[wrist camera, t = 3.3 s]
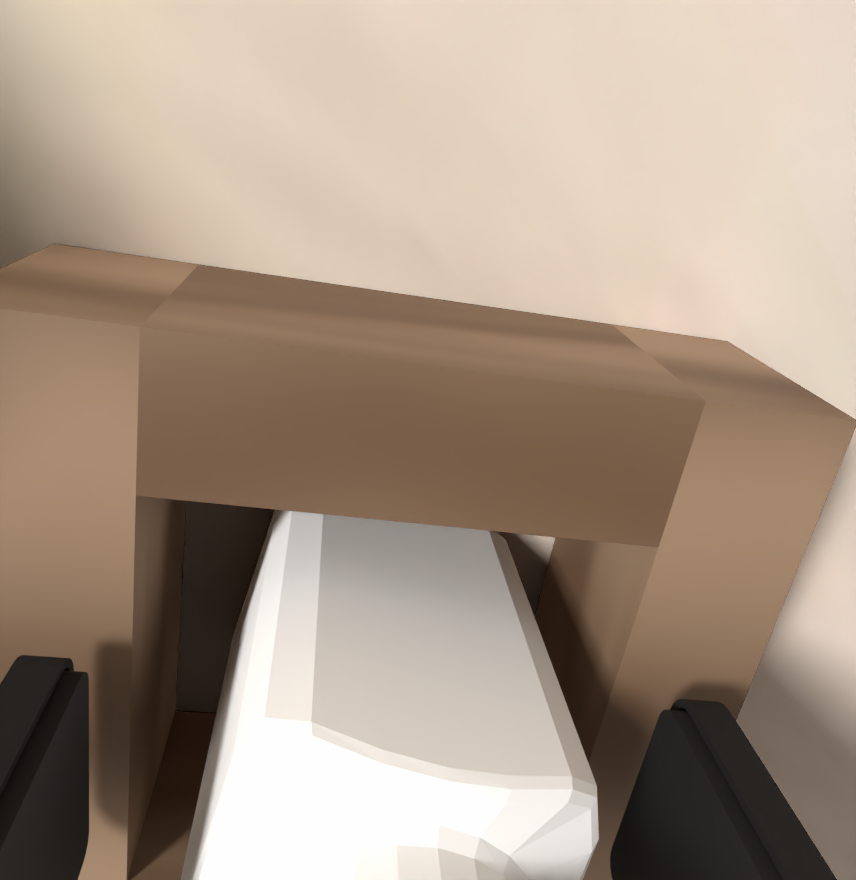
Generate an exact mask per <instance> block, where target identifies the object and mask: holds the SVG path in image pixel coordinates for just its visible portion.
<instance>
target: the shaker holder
mask: <svg viewBox="0 0 856 880" xmlns="http://www.w3.org/2000/svg"><path fill="white" fill-rule="evenodd" d="M855 428H856V420H855V419H854V418H852V417H850V416H849V415H847V414H846V413H844V412H842V411H841V410H839V409H837V408H836V407H834V406H832V405H831V404H829V403H827V402H826V401H824V400H823V399H821V398H819V397H818V396H816V395H814V394H813V393H811V392H809V391H808V390H806V389H805V388H803V387H801V386H800V385H798V384H796V383H795V382H793V381H791V380H790V379H788V378H787V377H785V376H783V375H782V374H780V373H778V372H777V371H775V370H773V369H772V368H770V367H769V366H767V365H765V364H764V363H762V362H760V361H759V360H757V359H755V358H754V357H752V356H751V355H749V354H747V353H746V352H744V351H742V350H741V349H739V348H737V347H736V346H734V345H733V344H731V343H729V342H728V341H721V340H715V339H708V338H701V337H694V336H687V335H680V334H673V333H666V332H659V331H653V330H646V329H639V328H632V327H625V326H618V325H611V324H604V323H597V322H591V321H584V320H577V319H570V318H563V317H556V316H549V315H542V314H536V313H529V312H522V311H515V310H508V309H501V308H494V307H487V306H480V305H474V304H467V303H460V302H453V301H446V300H439V299H432V298H425V297H418V296H412V295H405V294H398V293H391V292H384V291H377V290H370V289H363V288H356V287H350V286H343V285H336V284H329V283H322V282H315V281H308V280H301V279H295V278H288V277H281V276H274V275H267V274H260V273H253V272H246V271H239V270H233V269H226V268H219V267H212V266H205V265H198V264H191V263H184V262H177V261H171V260H164V259H157V258H150V257H143V256H136V255H129V254H122V253H115V252H109V251H102V250H95V249H88V248H81V247H74V246H67V245H60V244H52V245H50V246H48V247H46V248H44V249H42V250H39V251H37V252H35V253H33V254H31V255H29V256H27V257H24V258H22V259H20V260H18V261H16V262H14V263H11V264H9V265H7V266H5V267H3V268H1V269H0V684H1V682H2V681H3V679H4V677H5V676H6V674H7V672H8V671H9V669H10V667H11V666H12V664H13V663H14V661H15V660H16V659H17V657H19V656H21V655H30V656H45V657H60V658H70V659H72V662H73V665H74V671H79V672H87V673H88V676H89V838H88V845H87V850H86V854H85V859H84V862H83V865H82V868H81V871H80V874H79V877H78V880H181V875H182V870H183V866H184V861H185V857H186V852H187V847H188V843H189V838H190V833H191V829H192V824H193V819H194V815H195V810H196V805H197V801H198V796H199V791H200V787H201V782H202V777H203V773H204V768H205V763H206V759H207V754H208V749H209V745H210V740H211V735H212V731H213V726H214V721H215V717H216V714H214V713H197V712H180V711H175V707H176V688H177V669H178V650H179V631H180V612H181V593H182V573H183V554H184V535H185V516H186V501H195V502H205V503H215V504H225V505H235V506H245V507H255V508H265V509H275V510H286V511H296V512H306V513H316V514H326V515H336V516H346V517H356V518H367V519H377V520H387V521H397V522H407V523H417V524H427V525H437V526H447V527H458V528H468V529H478V530H488V531H498V532H508V533H518V534H528V535H538V536H549V537H556V538H555V542H554V545H553V549H552V553H551V557H550V561H549V564H548V568H547V572H546V576H545V580H544V583H543V587H542V591H541V595H540V598H539V602H538V606H537V610H536V614H535V620H536V623H537V625H538V628H539V631H540V633H541V636H542V639H543V642H544V644H545V647H546V650H547V652H548V655H549V658H550V661H551V663H552V666H553V669H554V671H555V674H556V677H557V679H558V682H559V685H560V688H561V690H562V693H563V696H564V698H565V701H566V704H567V706H568V709H569V712H570V715H571V717H572V720H573V723H574V725H575V728H576V731H577V734H578V736H579V739H580V742H581V744H582V747H583V750H584V752H585V755H586V758H587V761H588V763H589V766H590V769H591V771H592V774H593V777H594V780H595V782H596V785H597V801H598V829H599V840H598V843H597V845H596V847H595V850H594V852H593V855H592V857H591V860H590V862H589V865H588V867H587V870H586V872H585V875H584V877H583V880H613V879H612V876H611V869H610V854H611V849H612V846H613V843H614V840H615V837H616V835H617V832H618V829H619V826H620V823H621V821H622V818H623V815H624V812H625V810H626V807H627V804H628V801H629V798H630V796H631V793H632V790H633V787H634V784H635V782H636V779H637V776H638V773H639V770H640V768H641V765H642V762H643V759H644V757H645V754H646V751H647V748H648V745H649V743H650V740H651V737H652V734H653V731H654V729H655V726H656V723H657V720H658V717H659V715H660V713H661V712H662V711H663V710H667V709H669V710H670V709H671V707H672V705H673V703H674V702H675V701H676V700H679V699H688V700H703V701H718V702H720V703H722V704H724V705H725V706H726V707H727V708H728V710H729V711H730V713H731V714H732V716H733V717H734V719H735V721H736V719H737V717H738V714H739V712H740V709H741V707H742V704H743V702H744V700H745V697H746V695H747V692H748V690H749V687H750V685H751V682H752V680H753V677H754V675H755V673H756V670H757V668H758V665H759V663H760V660H761V658H762V655H763V653H764V651H765V648H766V646H767V643H768V641H769V638H770V636H771V633H772V631H773V629H774V626H775V624H776V621H777V619H778V616H779V614H780V611H781V609H782V607H783V604H784V602H785V599H786V597H787V594H788V592H789V589H790V587H791V584H792V582H793V580H794V577H795V575H796V572H797V570H798V567H799V565H800V562H801V560H802V558H803V555H804V553H805V550H806V548H807V545H808V543H809V540H810V538H811V536H812V533H813V531H814V528H815V526H816V523H817V521H818V518H819V516H820V513H821V511H822V509H823V506H824V504H825V501H826V499H827V496H828V494H829V491H830V489H831V487H832V484H833V482H834V479H835V477H836V474H837V472H838V469H839V467H840V465H841V462H842V460H843V457H844V455H845V452H846V450H847V447H848V445H849V443H850V440H851V438H852V435H853V433H854V430H855Z"/></svg>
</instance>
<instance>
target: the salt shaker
mask: <svg viewBox="0 0 856 880" xmlns="http://www.w3.org/2000/svg"><path fill="white" fill-rule="evenodd" d="M598 840H599V829H598V801H597V785H596V782H595V780H594V777H593V774H592V771H591V769H590V766H589V763H588V761H587V758H586V755H585V752H584V750H583V747H582V744H581V742H580V739H579V736H578V734H577V731H576V728H575V725H574V723H573V720H572V717H571V715H570V712H569V709H568V706H567V704H566V701H565V698H564V696H563V693H562V690H561V688H560V685H559V682H558V679H557V677H556V674H555V671H554V669H553V666H552V663H551V661H550V658H549V655H548V652H547V650H546V647H545V644H544V642H543V639H542V636H541V633H540V631H539V628H538V625H537V623H536V620H535V617H534V615H533V612H532V609H531V606H530V604H529V601H528V598H527V596H526V593H525V590H524V587H523V585H522V582H521V579H520V577H519V574H518V571H517V569H516V566H515V563H514V560H513V558H512V555H511V552H510V550H509V547H508V544H507V541H506V539H504V538H503V537H502V536H500V535H499V534H498V533H497V532H495V531H488V530H478V529H468V528H458V527H447V526H437V525H427V524H417V523H407V522H397V521H387V520H377V519H367V518H356V517H346V516H336V515H326V514H316V513H306V512H296V511H286V510H274V513H273V516H272V519H271V522H270V525H269V529H268V532H267V535H266V538H265V541H264V544H263V547H262V550H261V553H260V556H259V559H258V562H257V565H256V568H255V571H254V574H253V577H252V580H251V583H250V586H249V589H248V592H247V595H246V598H245V601H244V604H243V608H242V611H241V614H240V617H239V620H238V623H237V626H236V629H235V632H234V635H233V638H232V642H231V647H230V652H229V656H228V661H227V666H226V670H225V675H224V680H223V684H222V689H221V693H220V698H219V703H218V707H217V712H216V717H215V721H214V726H213V731H212V735H211V740H210V745H209V749H208V754H207V759H206V763H205V768H204V773H203V777H202V782H201V787H200V791H199V796H198V801H197V805H196V810H195V815H194V819H193V824H192V829H191V833H190V838H189V843H188V847H187V852H186V857H185V861H184V866H183V870H182V875H181V880H583V877H584V875H585V872H586V870H587V867H588V865H589V862H590V860H591V857H592V855H593V852H594V850H595V847H596V845H597V843H598Z"/></svg>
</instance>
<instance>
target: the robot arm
mask: <svg viewBox="0 0 856 880" xmlns="http://www.w3.org/2000/svg"><path fill="white" fill-rule="evenodd" d="M88 838H89V676H88V673H87V672H79V671H74V665H73V662H72V659H70V658H60V657H45V656H30V655H21V656H19V657H17V659H16V660H15V661H14V663H13V664H12V666H11V667H10V669H9V671H8V672H7V674H6V676H5V677H4V679H3V681H2V682H1V684H0V880H78V877H79V874H80V871H81V868H82V865H83V862H84V859H85V854H86V850H87V845H88ZM610 869H611V876H612V879H613V880H837V879H836V878H835V876H834V875H833V873H832V871H831V870H830V868H829V867H828V865H827V864H826V862H825V860H824V859H823V857H822V856H821V854H820V853H819V851H818V849H817V848H816V846H815V845H814V843H813V842H812V840H811V838H810V837H809V835H808V834H807V832H806V831H805V829H804V827H803V826H802V824H801V823H800V821H799V820H798V818H797V816H796V815H795V813H794V812H793V810H792V809H791V807H790V805H789V804H788V802H787V801H786V799H785V798H784V796H783V794H782V793H781V791H780V790H779V788H778V787H777V785H776V783H775V782H774V780H773V779H772V777H771V776H770V774H769V772H768V771H767V769H766V768H765V766H764V765H763V763H762V761H761V760H760V758H759V757H758V755H757V754H756V752H755V750H754V749H753V747H752V746H751V744H750V743H749V741H748V739H747V738H746V736H745V735H744V733H743V732H742V730H741V728H740V727H739V725H738V724H737V722H736V721H735V719H734V717H733V716H732V714H731V713H730V711H729V710H728V708H727V707H726V706H725V705H724V704H722V703H720V702H718V701H703V700H688V699H679V700H676V701H675V702H674V703H673V705H672V707H671V709H670V710H669V709H667V710H663V711H662V712H661V713H660V715H659V717H658V720H657V723H656V726H655V729H654V731H653V734H652V737H651V740H650V743H649V745H648V748H647V751H646V754H645V757H644V759H643V762H642V765H641V768H640V770H639V773H638V776H637V779H636V782H635V784H634V787H633V790H632V793H631V796H630V798H629V801H628V804H627V807H626V810H625V812H624V815H623V818H622V821H621V823H620V826H619V829H618V832H617V835H616V837H615V840H614V843H613V846H612V849H611V854H610Z"/></svg>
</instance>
